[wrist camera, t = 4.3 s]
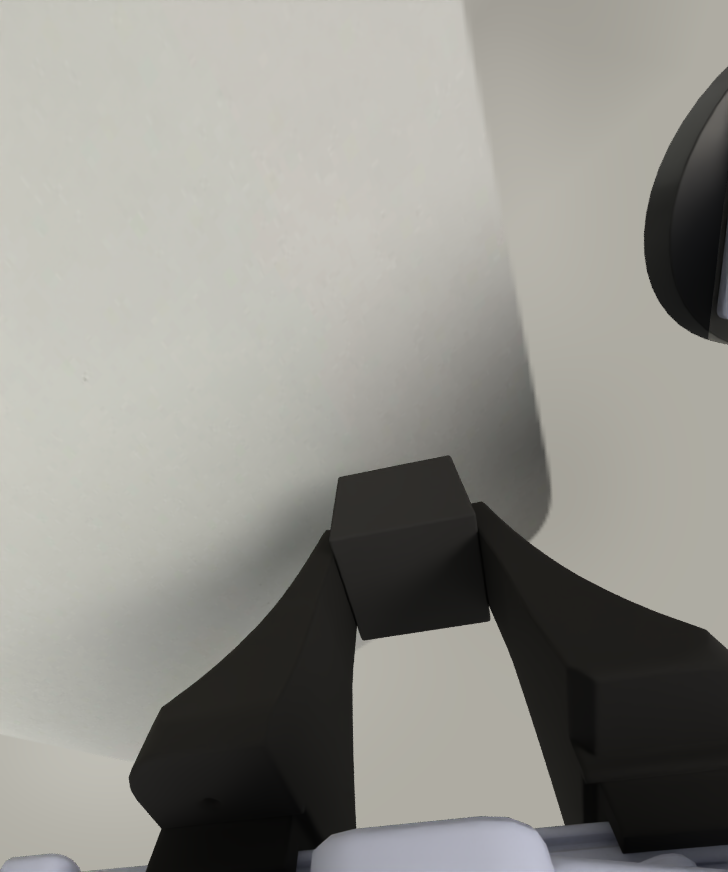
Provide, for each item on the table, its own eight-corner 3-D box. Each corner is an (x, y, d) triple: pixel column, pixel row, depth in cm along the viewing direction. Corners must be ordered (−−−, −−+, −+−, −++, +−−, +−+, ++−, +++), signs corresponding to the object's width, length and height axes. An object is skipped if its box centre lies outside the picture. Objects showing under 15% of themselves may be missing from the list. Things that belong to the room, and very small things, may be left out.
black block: (450, 454, 13) (476, 513, 10) (464, 545, 15) (491, 622, 11) (337, 476, 14) (327, 540, 10) (363, 563, 15) (361, 642, 12)
